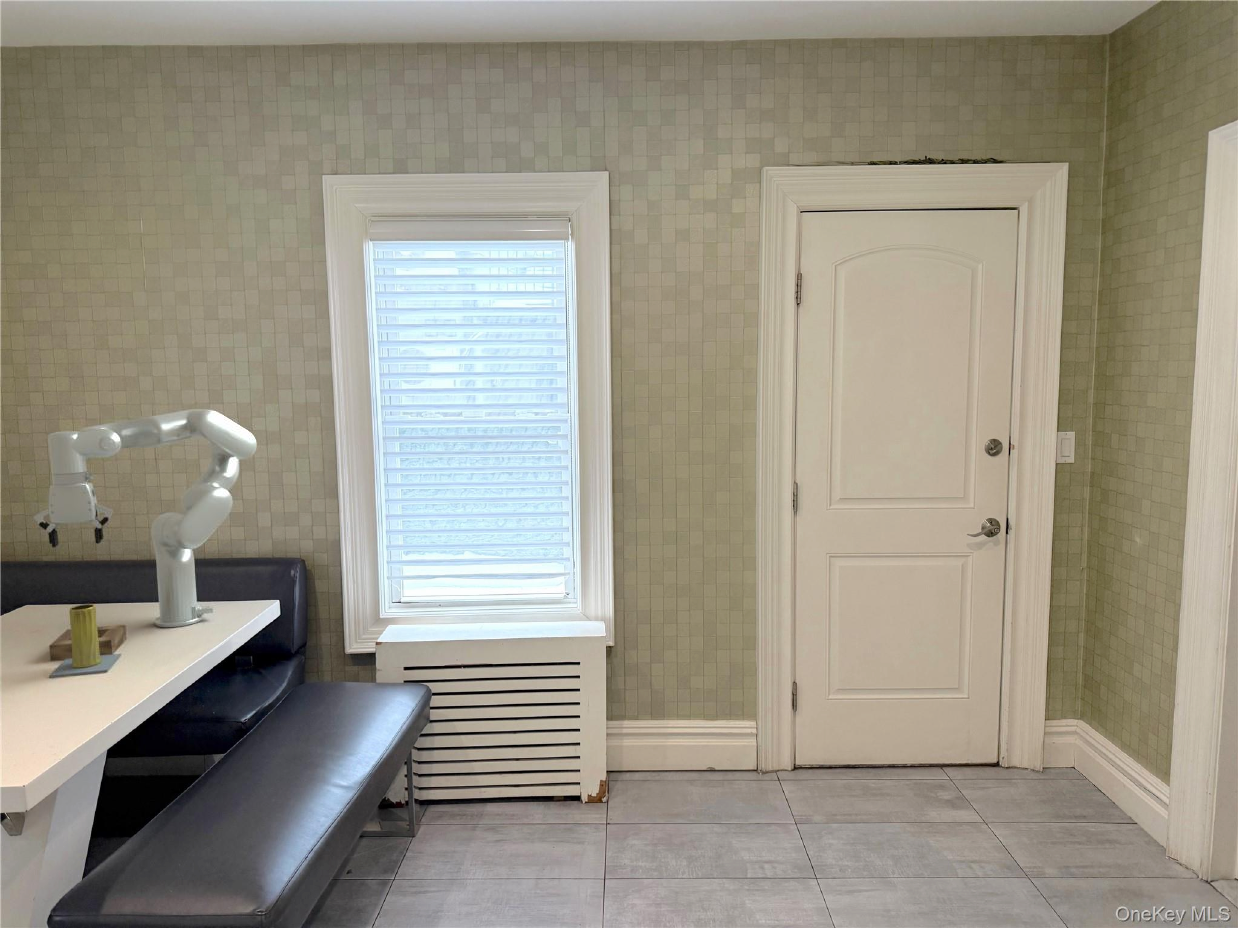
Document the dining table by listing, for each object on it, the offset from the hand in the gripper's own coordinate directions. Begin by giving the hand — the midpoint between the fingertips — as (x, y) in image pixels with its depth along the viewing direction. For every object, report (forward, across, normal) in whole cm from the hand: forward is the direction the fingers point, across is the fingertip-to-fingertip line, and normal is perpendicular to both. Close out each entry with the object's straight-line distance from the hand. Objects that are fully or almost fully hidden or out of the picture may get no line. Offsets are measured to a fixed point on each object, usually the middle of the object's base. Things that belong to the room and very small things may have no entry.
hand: (77, 544), depth 212 cm
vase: (+26, -4, +20) cm, 33 cm away
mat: (+27, -4, +20) cm, 33 cm away
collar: (+27, -2, +6) cm, 27 cm away
